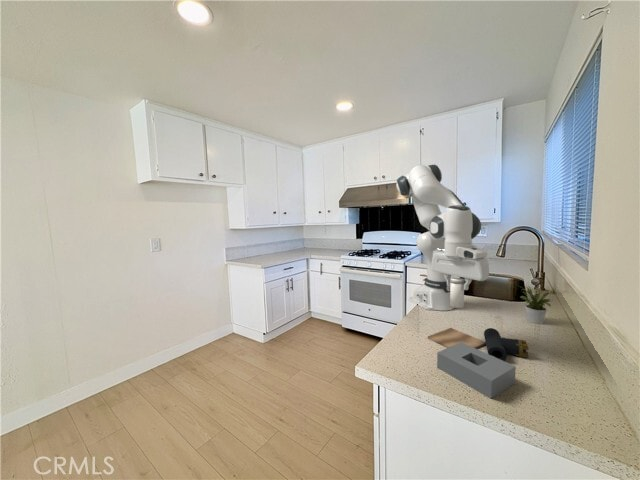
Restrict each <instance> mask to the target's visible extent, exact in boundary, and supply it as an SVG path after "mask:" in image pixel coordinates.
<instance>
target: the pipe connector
mask: <svg viewBox="0 0 640 480" xmlns="http://www.w3.org/2000/svg"><path fill="white" fill-rule="evenodd" d="M483 338H484V341H485V342H486V345H485V346H486V351H487V354H489V355H491V356H493V357H496V358H498V359H500V360H502V361H505V362H506V360H507V356H508V355H514V356H516V357H521V358H527V359H529V353H528V351H529V345H528V343H527V341H526V340H525V339H517V338H507V337H501V334H500V332H499V331H498V330H497V329H495V328H492V327H491V328H490V327H489V328H486V329H485V330H484V332H483Z"/></svg>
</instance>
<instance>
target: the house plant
mask: <svg viewBox="0 0 640 480" xmlns="http://www.w3.org/2000/svg"><path fill="white" fill-rule="evenodd" d="M516 286H517V287H519V288H522V286H520V285H516ZM543 290H544V288H542V289H541V288H540V285H538V286H537V288H536V291H535V294H533V291H532V287H530V286H529V285H525V289H524V291H522V290H521V291H520V292H522V293H523V294H524V295H525V296H524V295H521V296H520V298H521V299H523V300H525V301H526V305H525V311H526V312H525V313H526V319H527V321H528V322H529V323H532V324H537V325H542V324H544V321H545V317H546V314H547V311H548V310H547V308H546V305H547V306H548V307H550V309H551V306H552V305H551V304H550V303H549V302H551V303H552V300H551V299H549V298H546V297H547V296H549V295H551V294H553V295H554V293H553V291H554V289H550V290H548V291H547V292H545V293H544V294H542V293H541V292H542V291H543Z"/></svg>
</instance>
